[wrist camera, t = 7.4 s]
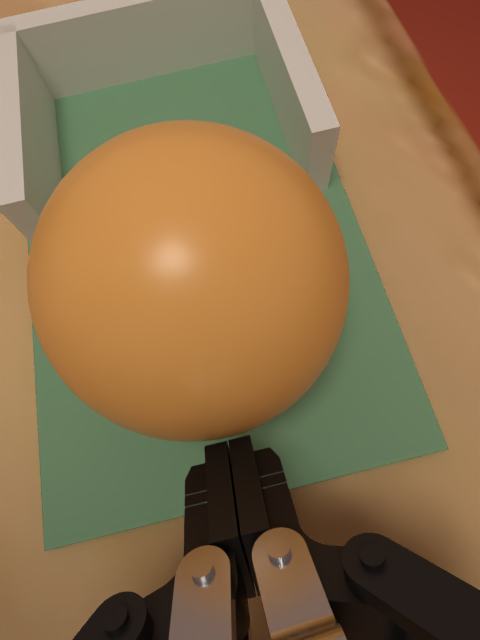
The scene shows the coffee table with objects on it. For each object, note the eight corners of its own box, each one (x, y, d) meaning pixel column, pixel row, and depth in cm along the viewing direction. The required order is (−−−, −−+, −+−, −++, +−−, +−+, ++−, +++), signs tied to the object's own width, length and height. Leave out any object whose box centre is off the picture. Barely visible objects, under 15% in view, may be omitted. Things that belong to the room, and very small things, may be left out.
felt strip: (444, 449, 17) (448, 449, 16) (49, 549, 16) (44, 551, 16) (275, 24, 26) (275, 17, 26) (22, 81, 26) (19, 76, 25)
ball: (384, 453, 14) (456, 200, 7) (99, 524, 14) (-136, 337, 7) (300, 269, 21) (292, 42, 14) (106, 314, 21) (-9, 106, 14)
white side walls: (327, 189, 21) (340, 126, 17) (44, 255, 21) (-5, 206, 17) (269, 35, 25) (268, -42, 22) (33, 89, 25) (-9, 20, 21)
